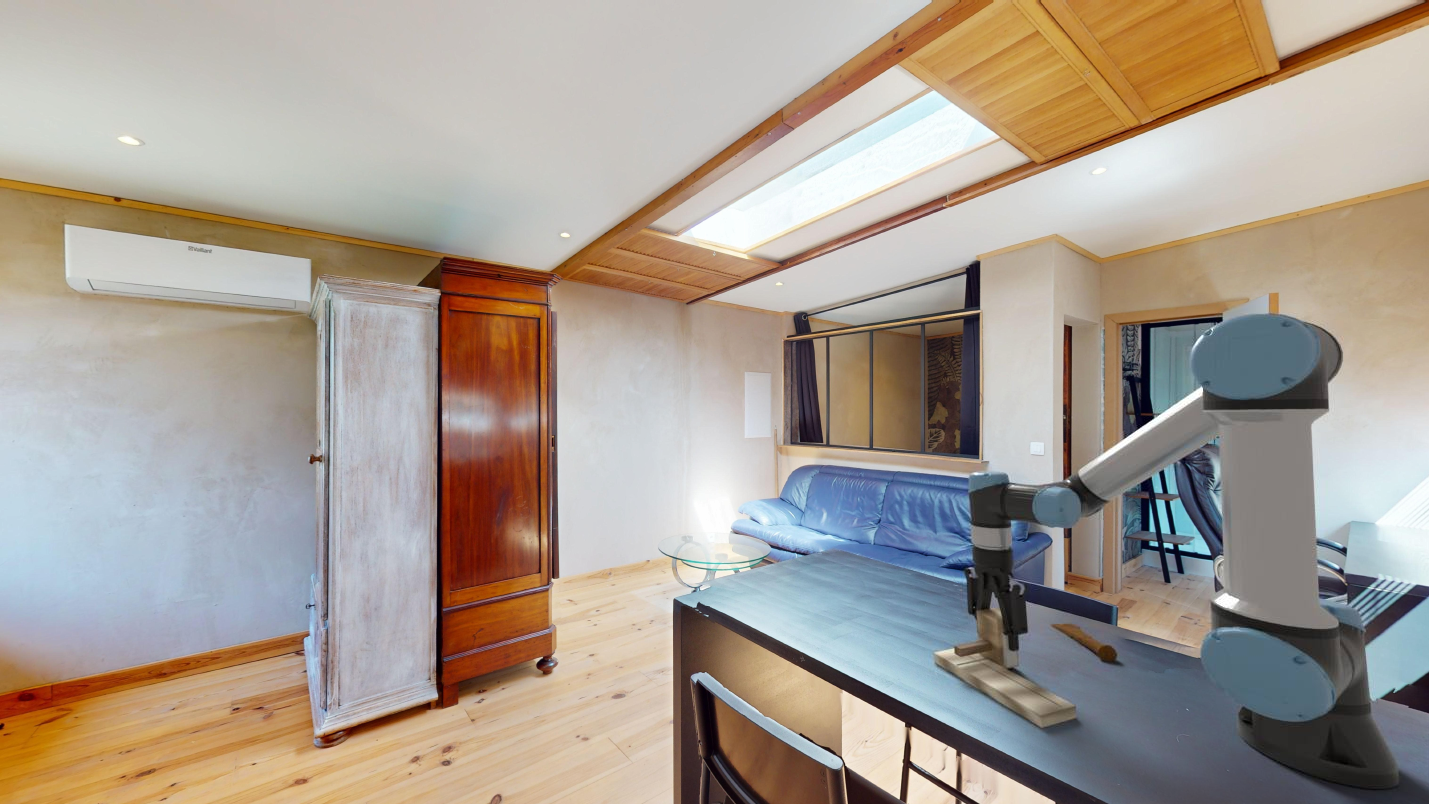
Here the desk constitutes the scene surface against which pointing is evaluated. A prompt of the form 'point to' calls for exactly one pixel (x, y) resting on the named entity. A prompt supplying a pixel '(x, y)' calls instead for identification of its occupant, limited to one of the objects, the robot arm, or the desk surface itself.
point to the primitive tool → (1087, 641)
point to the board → (1008, 688)
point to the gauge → (987, 638)
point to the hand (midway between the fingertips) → (998, 658)
